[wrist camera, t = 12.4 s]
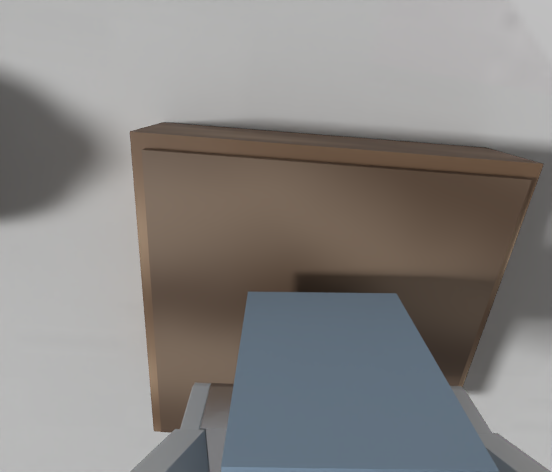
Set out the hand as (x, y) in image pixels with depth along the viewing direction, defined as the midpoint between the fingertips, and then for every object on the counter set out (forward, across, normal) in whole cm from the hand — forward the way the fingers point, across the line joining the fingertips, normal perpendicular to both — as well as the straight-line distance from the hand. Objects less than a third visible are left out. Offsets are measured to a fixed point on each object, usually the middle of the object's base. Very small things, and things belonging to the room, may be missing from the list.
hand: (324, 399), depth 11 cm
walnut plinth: (+8, 0, 0) cm, 8 cm away
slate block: (+2, 0, 0) cm, 2 cm away
